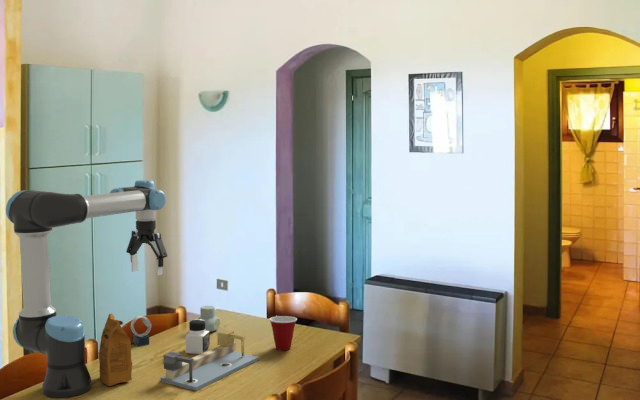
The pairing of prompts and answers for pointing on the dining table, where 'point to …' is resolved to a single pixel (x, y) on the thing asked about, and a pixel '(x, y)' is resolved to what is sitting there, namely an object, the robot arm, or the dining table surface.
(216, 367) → the plate
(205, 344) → the medicine bottle
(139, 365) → the dining table surface
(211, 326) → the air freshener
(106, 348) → the coffee package
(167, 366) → the trammel beam
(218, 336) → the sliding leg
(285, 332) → the plastic cup
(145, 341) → the grey ring on base
